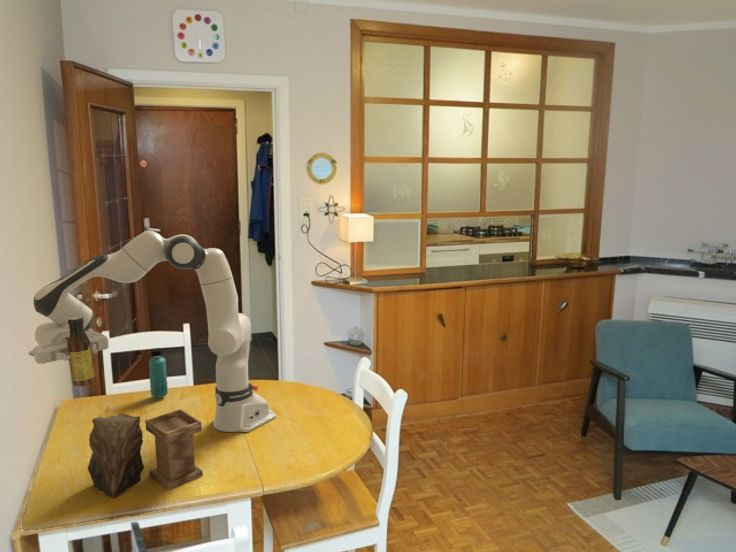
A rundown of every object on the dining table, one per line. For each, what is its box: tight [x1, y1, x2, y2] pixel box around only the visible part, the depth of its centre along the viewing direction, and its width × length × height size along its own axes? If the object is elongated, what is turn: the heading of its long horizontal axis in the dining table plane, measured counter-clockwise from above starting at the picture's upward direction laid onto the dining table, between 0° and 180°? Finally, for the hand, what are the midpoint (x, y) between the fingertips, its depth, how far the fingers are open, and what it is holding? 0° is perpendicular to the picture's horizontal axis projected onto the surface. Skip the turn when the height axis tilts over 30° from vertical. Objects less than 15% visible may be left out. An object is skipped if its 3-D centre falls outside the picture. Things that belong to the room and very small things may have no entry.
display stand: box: [144, 409, 204, 491], centre depth 176 cm, size 11×12×18 cm
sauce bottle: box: [67, 316, 96, 387], centre depth 172 cm, size 6×6×20 cm
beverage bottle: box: [148, 348, 169, 398], centre depth 232 cm, size 6×7×20 cm
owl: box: [87, 413, 144, 499], centre depth 172 cm, size 13×13×20 cm
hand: (81, 354), depth 171 cm, fingers closed on sauce bottle, 6 cm apart
